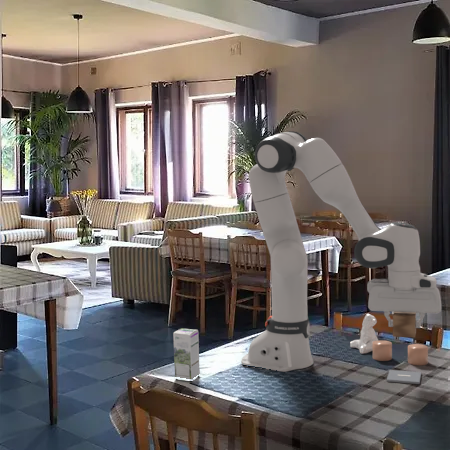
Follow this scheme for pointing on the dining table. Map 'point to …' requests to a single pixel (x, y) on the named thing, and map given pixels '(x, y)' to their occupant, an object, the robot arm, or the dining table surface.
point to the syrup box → (186, 353)
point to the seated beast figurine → (366, 335)
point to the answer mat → (404, 376)
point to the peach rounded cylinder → (417, 354)
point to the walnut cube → (404, 324)
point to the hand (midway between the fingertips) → (404, 327)
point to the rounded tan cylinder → (382, 350)
